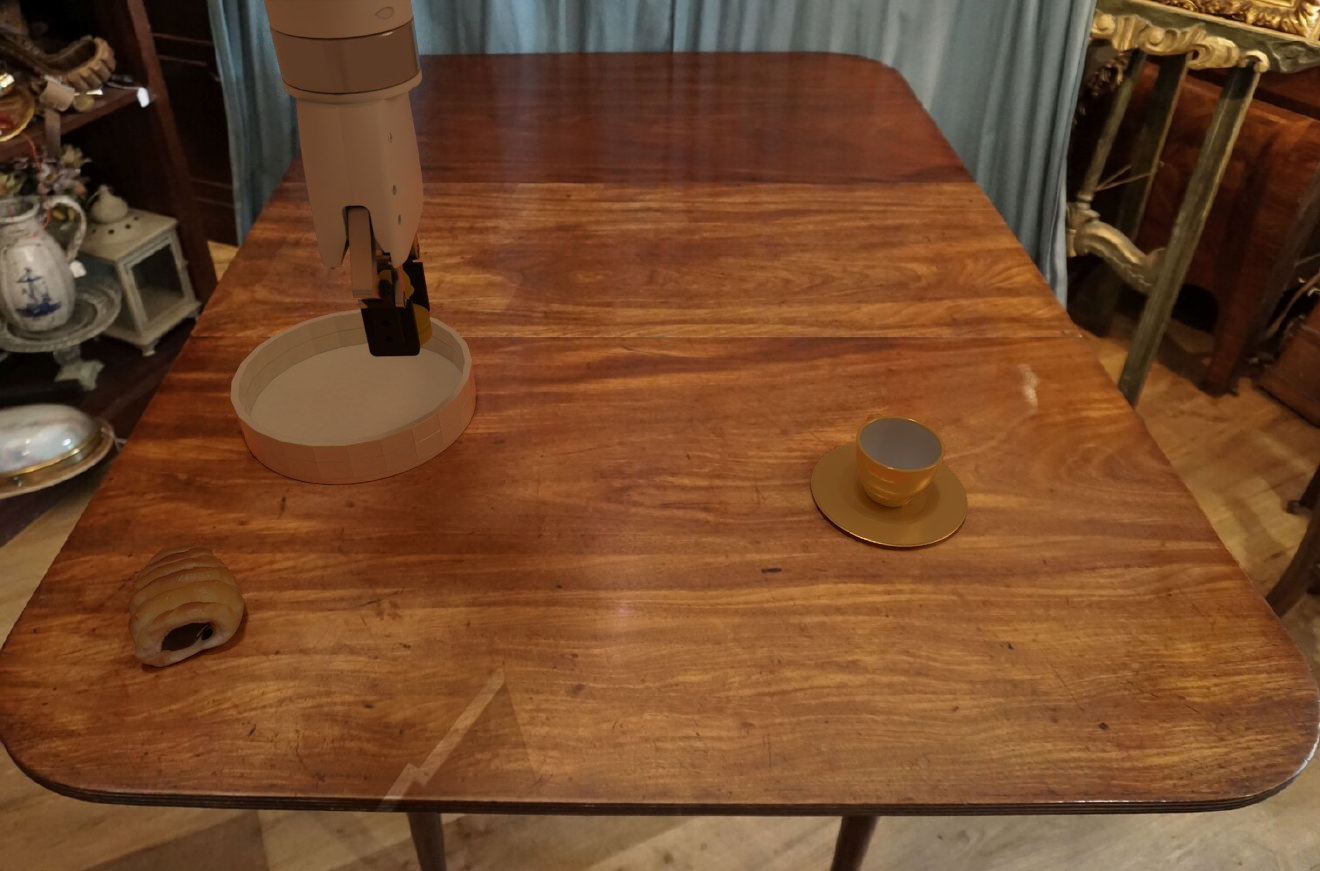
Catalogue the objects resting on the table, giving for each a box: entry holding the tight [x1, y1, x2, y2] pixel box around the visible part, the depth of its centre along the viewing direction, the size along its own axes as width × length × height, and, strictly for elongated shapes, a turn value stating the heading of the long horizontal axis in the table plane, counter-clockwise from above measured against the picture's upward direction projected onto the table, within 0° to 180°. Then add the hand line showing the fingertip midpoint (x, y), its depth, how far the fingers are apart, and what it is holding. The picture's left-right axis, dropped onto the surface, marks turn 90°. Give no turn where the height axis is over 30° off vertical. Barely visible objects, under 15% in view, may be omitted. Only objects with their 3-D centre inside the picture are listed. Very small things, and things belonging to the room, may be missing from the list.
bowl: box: [230, 308, 477, 485], centre depth 79 cm, size 19×19×4 cm
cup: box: [810, 413, 969, 548], centre depth 71 cm, size 12×12×5 cm
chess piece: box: [378, 270, 432, 346], centre depth 62 cm, size 4×4×5 cm
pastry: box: [127, 542, 246, 668], centre depth 62 cm, size 9×7×4 cm
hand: (401, 331), depth 63 cm, fingers closed on chess piece, 4 cm apart
